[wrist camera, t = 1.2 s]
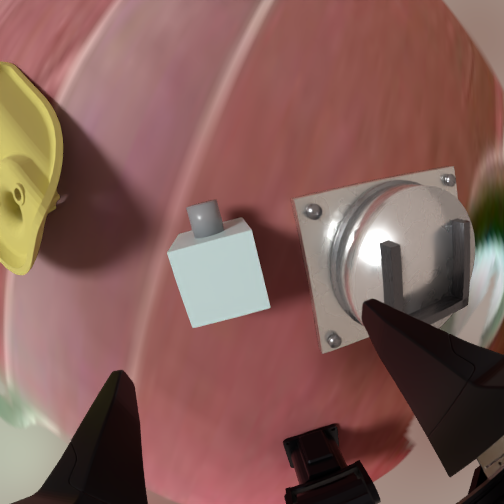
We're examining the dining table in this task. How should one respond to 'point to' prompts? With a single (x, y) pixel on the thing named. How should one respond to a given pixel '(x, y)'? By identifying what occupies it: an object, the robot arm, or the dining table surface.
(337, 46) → the dining table surface
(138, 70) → the dining table surface
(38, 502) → the robot arm
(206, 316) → the block with peg
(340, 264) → the metal mounting base
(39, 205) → the plastic component
